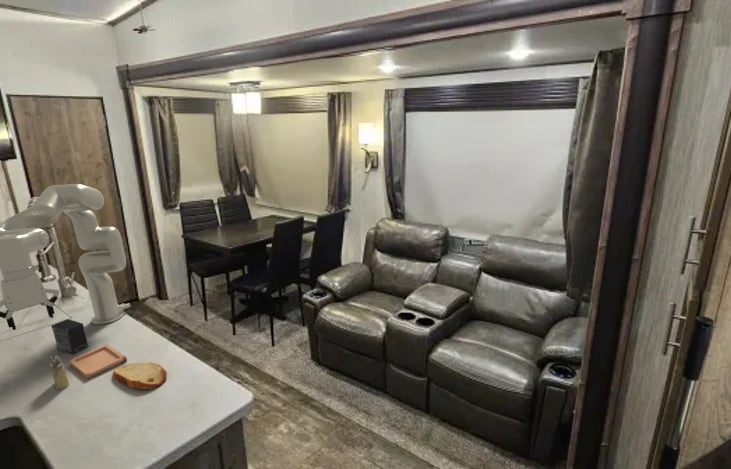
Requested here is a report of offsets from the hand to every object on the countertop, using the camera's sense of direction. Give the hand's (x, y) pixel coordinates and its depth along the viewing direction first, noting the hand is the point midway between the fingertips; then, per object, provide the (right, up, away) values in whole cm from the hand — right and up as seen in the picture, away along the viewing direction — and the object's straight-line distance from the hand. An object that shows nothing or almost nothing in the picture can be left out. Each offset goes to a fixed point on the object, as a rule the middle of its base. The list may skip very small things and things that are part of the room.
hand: (33, 322), depth 129 cm
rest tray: (+10, -19, +18) cm, 27 cm away
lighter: (+5, -23, +6) cm, 24 cm away
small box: (-8, -17, +28) cm, 34 cm away
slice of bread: (+30, -22, +8) cm, 38 cm away
